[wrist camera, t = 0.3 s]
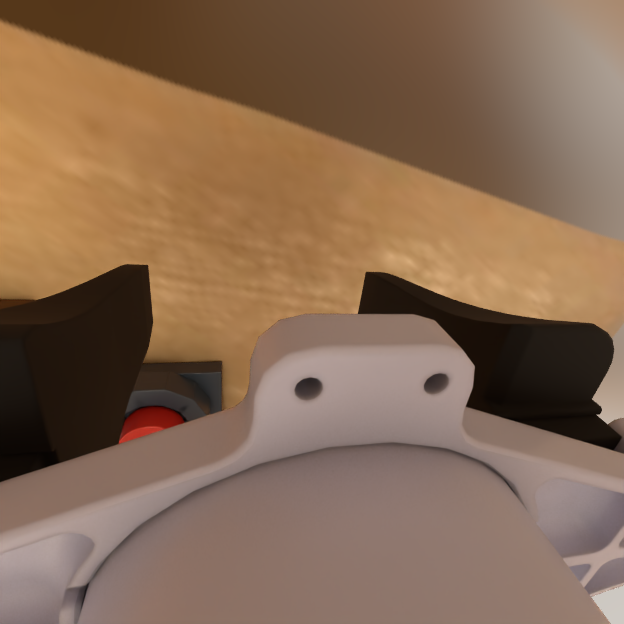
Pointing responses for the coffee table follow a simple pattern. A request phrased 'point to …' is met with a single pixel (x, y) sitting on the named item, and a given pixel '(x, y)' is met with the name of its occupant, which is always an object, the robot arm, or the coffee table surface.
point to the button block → (179, 388)
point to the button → (148, 422)
